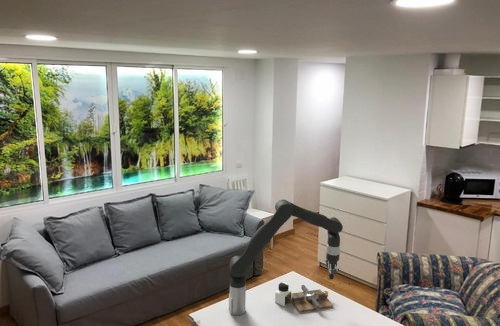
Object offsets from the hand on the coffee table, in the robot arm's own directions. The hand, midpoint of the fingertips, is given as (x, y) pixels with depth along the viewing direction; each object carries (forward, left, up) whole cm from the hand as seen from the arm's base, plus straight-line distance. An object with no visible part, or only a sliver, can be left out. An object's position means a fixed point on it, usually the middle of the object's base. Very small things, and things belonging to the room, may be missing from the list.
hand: (331, 278), depth 227 cm
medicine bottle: (-26, +11, -18) cm, 33 cm away
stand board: (-10, +7, -18) cm, 22 cm away
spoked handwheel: (-9, +7, -16) cm, 20 cm away
